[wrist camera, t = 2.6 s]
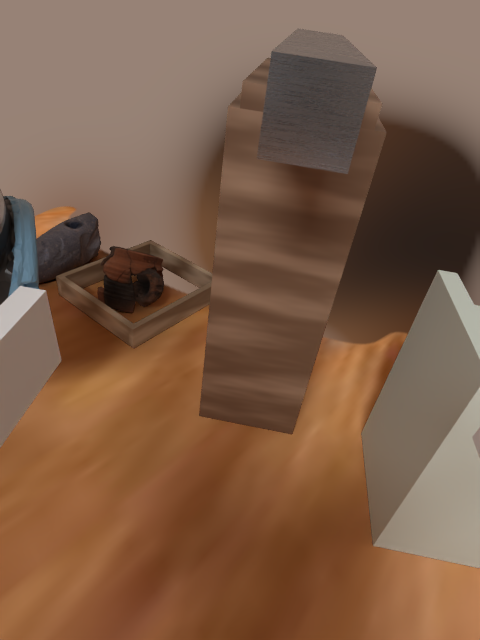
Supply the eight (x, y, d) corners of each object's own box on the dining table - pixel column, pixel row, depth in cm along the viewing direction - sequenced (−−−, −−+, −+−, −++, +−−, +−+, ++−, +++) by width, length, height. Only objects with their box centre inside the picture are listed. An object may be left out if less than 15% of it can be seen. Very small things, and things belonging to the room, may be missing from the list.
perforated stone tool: (36, 297, 57) (27, 253, 53) (9, 284, 59) (-2, 239, 55) (113, 256, 68) (110, 216, 64) (88, 246, 70) (84, 206, 66)
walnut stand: (292, 434, 44) (394, 105, 25) (199, 415, 44) (230, 79, 25) (297, 339, 57) (368, 73, 38) (225, 325, 57) (259, 56, 38)
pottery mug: (80, 298, 59) (91, 240, 58) (134, 303, 67) (145, 252, 66) (130, 319, 52) (143, 254, 51) (185, 323, 59) (198, 266, 58)
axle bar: (347, 174, 18) (376, 67, 16) (256, 158, 18) (271, 51, 16) (331, 87, 39) (343, 35, 36) (288, 80, 39) (297, 28, 37)
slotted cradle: (479, 568, 35) (653, 407, 23) (373, 545, 36) (487, 375, 23) (444, 449, 45) (554, 290, 33) (361, 433, 45) (438, 270, 33)
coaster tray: (59, 294, 58) (55, 276, 57) (150, 256, 70) (150, 240, 68) (133, 348, 51) (132, 329, 50) (222, 296, 63) (224, 279, 61)
